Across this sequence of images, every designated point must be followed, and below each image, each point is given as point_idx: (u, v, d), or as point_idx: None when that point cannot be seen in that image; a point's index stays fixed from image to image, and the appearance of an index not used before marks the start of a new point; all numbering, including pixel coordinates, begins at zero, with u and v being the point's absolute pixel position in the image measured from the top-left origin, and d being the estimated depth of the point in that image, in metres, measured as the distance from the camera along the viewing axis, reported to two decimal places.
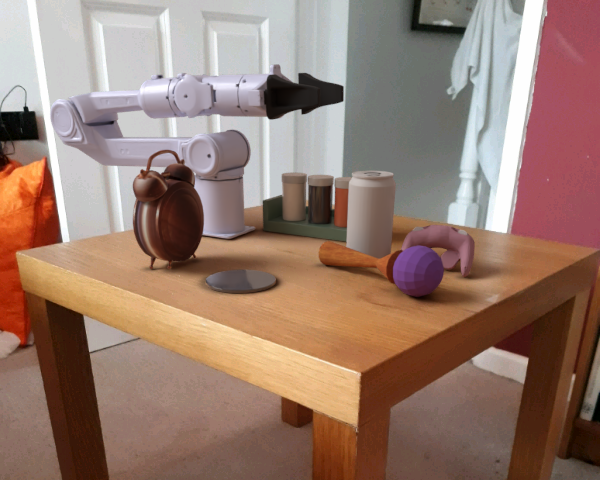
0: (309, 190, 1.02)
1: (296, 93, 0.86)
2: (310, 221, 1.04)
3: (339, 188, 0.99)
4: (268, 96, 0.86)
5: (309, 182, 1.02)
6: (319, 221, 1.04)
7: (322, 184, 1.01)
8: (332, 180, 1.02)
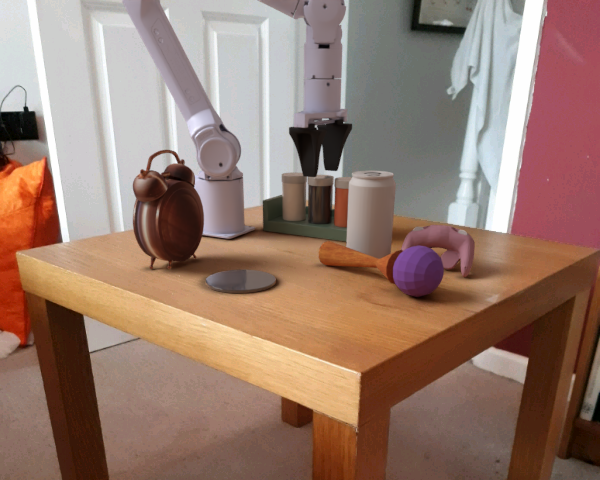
0: (309, 190, 1.02)
1: (310, 155, 0.97)
2: (310, 221, 1.04)
3: (339, 188, 0.99)
4: (304, 131, 0.94)
5: (309, 182, 1.02)
6: (319, 221, 1.04)
7: (322, 184, 1.01)
8: (332, 180, 1.02)
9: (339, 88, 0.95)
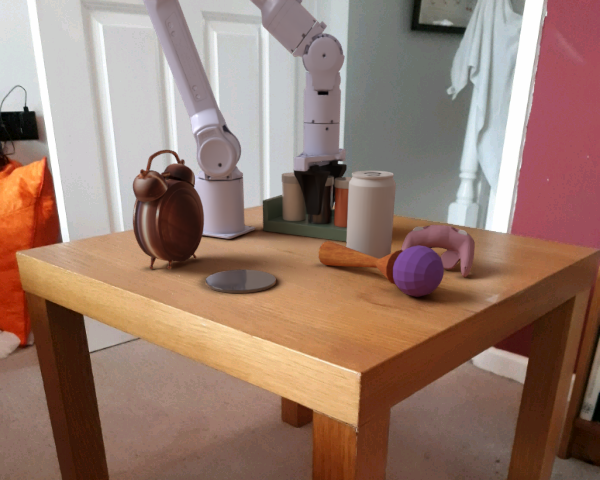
0: None
1: (314, 194, 1.01)
2: (310, 221, 1.04)
3: (339, 188, 0.99)
4: (308, 173, 0.98)
5: None
6: (319, 221, 1.04)
7: None
8: (332, 180, 1.02)
9: (338, 132, 0.98)
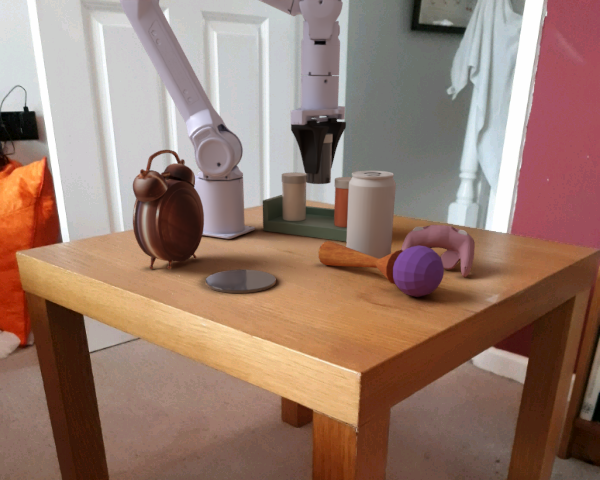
0: None
1: (312, 151, 0.97)
2: (308, 181, 1.00)
3: (339, 188, 0.99)
4: (306, 128, 0.94)
5: None
6: (317, 180, 1.00)
7: None
8: (331, 137, 0.98)
9: (337, 85, 0.94)
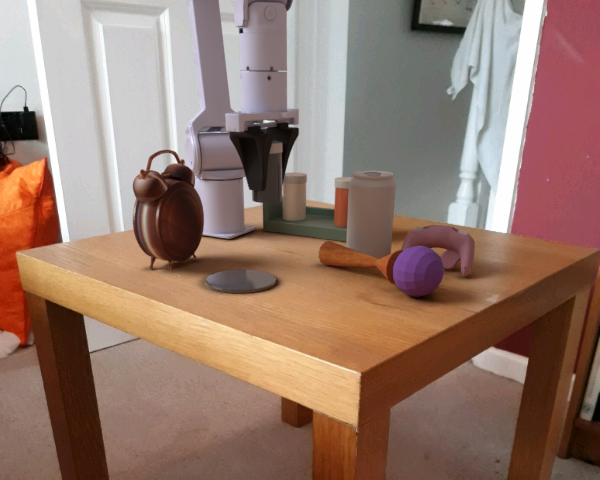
0: None
1: (257, 164, 0.80)
2: (254, 199, 0.83)
3: (339, 188, 0.99)
4: (246, 135, 0.77)
5: None
6: (265, 199, 0.82)
7: None
8: (280, 146, 0.80)
9: (284, 83, 0.77)
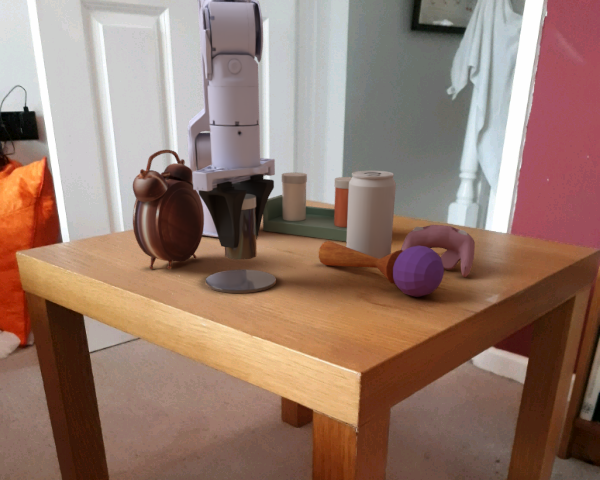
0: None
1: (228, 220, 0.75)
2: (227, 255, 0.78)
3: (339, 188, 0.99)
4: (216, 193, 0.72)
5: None
6: (238, 255, 0.78)
7: None
8: (253, 201, 0.76)
9: (256, 137, 0.72)
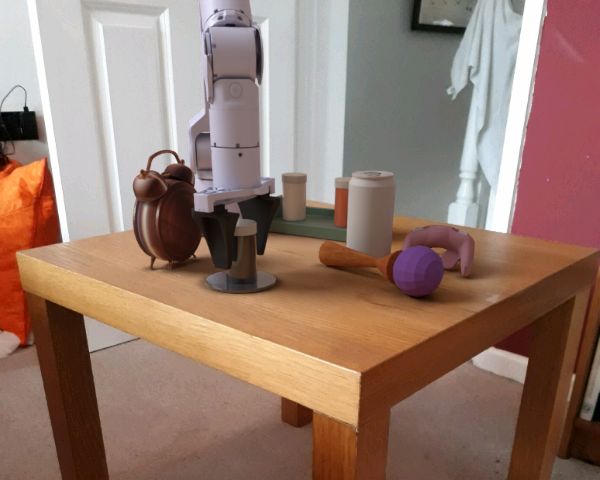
0: None
1: (221, 243, 0.75)
2: (228, 279, 0.80)
3: (339, 188, 0.99)
4: (209, 216, 0.72)
5: None
6: (238, 280, 0.79)
7: (240, 233, 0.76)
8: (254, 227, 0.77)
9: (257, 158, 0.73)
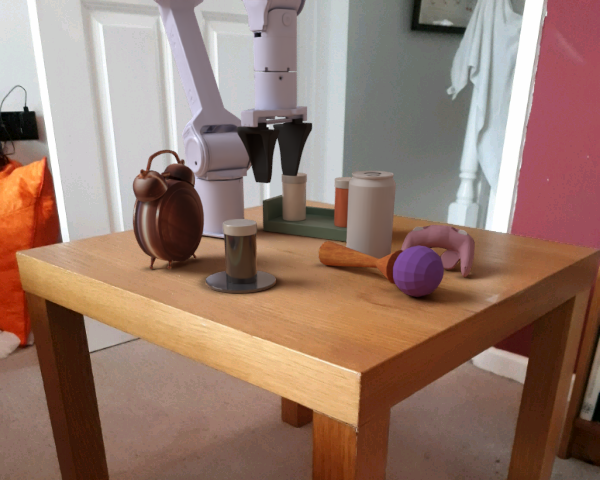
0: (225, 240, 0.78)
1: (263, 158, 0.86)
2: (228, 279, 0.80)
3: (339, 188, 0.99)
4: (253, 131, 0.83)
5: (224, 230, 0.77)
6: (238, 280, 0.79)
7: (240, 233, 0.76)
8: (254, 227, 0.77)
9: (294, 82, 0.84)
